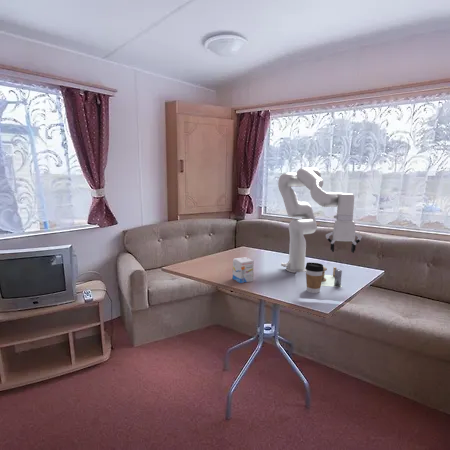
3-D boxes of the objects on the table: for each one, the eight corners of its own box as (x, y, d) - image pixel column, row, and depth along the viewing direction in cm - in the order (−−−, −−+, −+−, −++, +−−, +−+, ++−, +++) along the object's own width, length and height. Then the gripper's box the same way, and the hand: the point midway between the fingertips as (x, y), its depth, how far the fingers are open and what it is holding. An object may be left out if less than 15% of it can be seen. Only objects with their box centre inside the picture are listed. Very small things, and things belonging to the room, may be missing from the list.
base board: (316, 288, 158) (316, 285, 158) (312, 276, 177) (312, 274, 176) (342, 290, 156) (342, 287, 156) (335, 278, 175) (335, 275, 174)
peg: (334, 286, 157) (335, 271, 156) (333, 284, 160) (334, 269, 159) (341, 286, 156) (342, 271, 155) (340, 284, 159) (341, 269, 158)
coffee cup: (301, 290, 155) (303, 261, 152) (318, 290, 155) (319, 261, 153) (307, 297, 146) (309, 266, 144) (324, 296, 147) (326, 266, 145)
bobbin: (315, 281, 164) (315, 269, 163) (314, 277, 170) (314, 266, 169) (326, 282, 163) (327, 270, 162) (325, 278, 169) (326, 266, 168)
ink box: (239, 283, 164) (240, 262, 162) (232, 278, 171) (232, 258, 169) (253, 281, 168) (254, 260, 166) (245, 276, 175) (246, 256, 173)
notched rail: (315, 275, 174) (315, 266, 173) (314, 274, 176) (315, 266, 175) (336, 276, 172) (336, 268, 171) (335, 275, 174) (336, 267, 173)
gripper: (327, 218, 152) (325, 252, 154) (365, 219, 149) (362, 254, 151) (325, 216, 159) (323, 249, 162) (361, 217, 156) (358, 250, 158)
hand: (342, 251), depth 156 cm, fingers open, 9 cm apart
